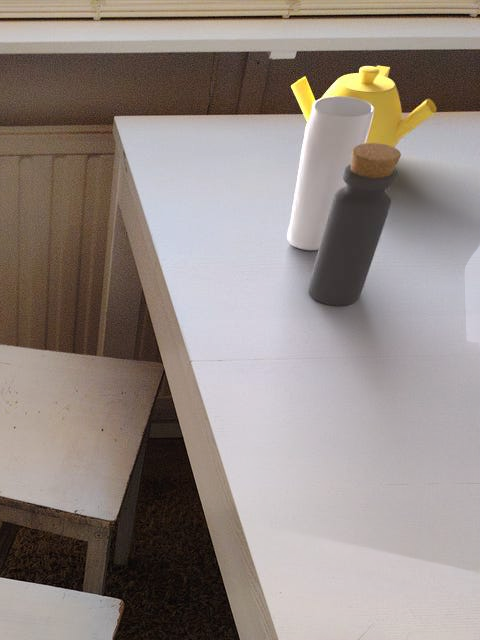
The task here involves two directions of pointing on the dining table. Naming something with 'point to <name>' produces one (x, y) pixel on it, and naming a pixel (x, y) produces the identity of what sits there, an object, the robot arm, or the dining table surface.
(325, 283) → the bottle
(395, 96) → the teapot
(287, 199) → the dining table surface
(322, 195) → the white vase
